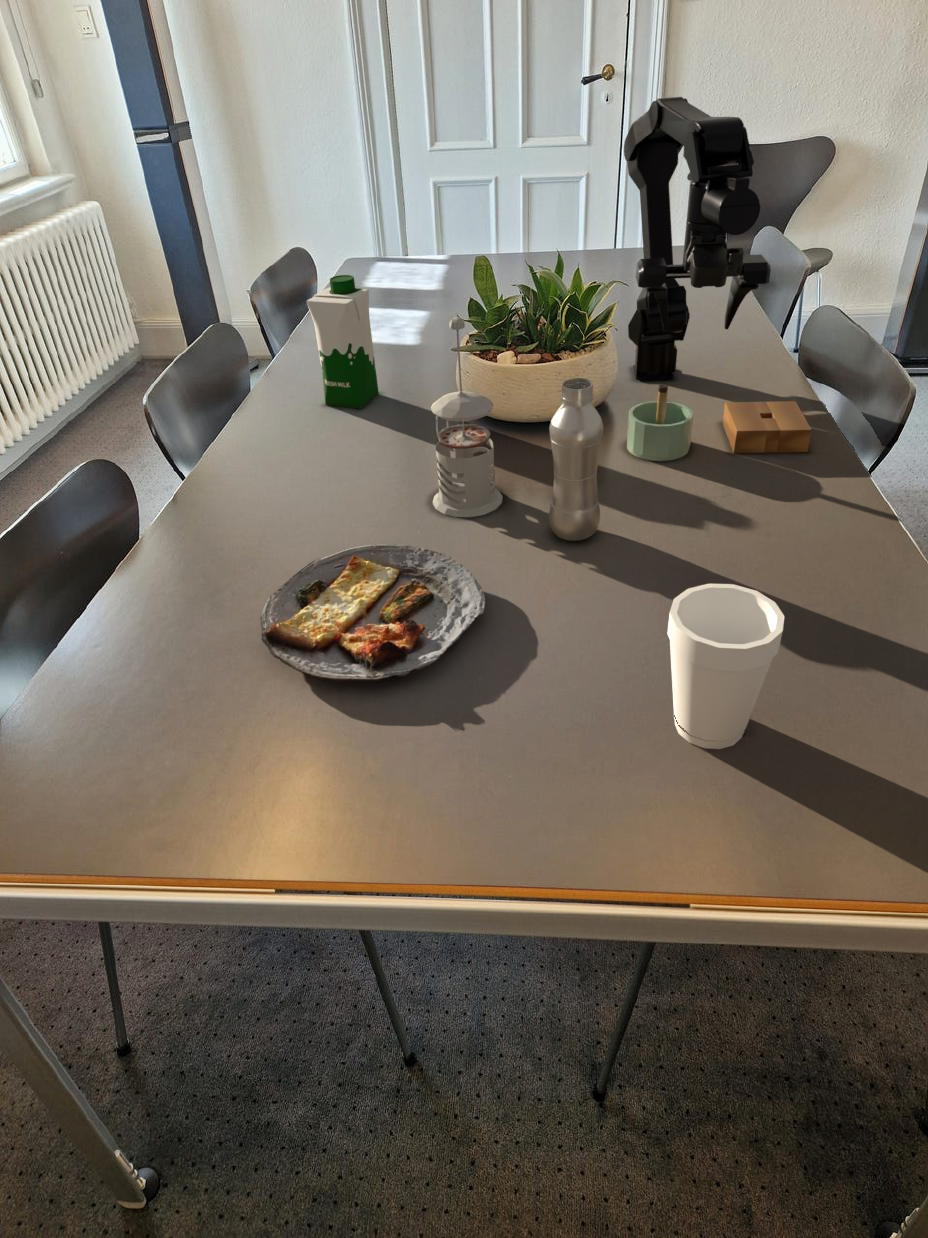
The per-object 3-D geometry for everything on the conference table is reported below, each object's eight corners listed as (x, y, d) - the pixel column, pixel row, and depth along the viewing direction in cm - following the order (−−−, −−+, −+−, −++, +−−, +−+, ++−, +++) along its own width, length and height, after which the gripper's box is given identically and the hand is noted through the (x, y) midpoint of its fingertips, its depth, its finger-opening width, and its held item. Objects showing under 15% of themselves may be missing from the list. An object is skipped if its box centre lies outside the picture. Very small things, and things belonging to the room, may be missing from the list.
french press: (452, 524, 113) (438, 336, 98) (415, 489, 121) (397, 311, 106) (515, 504, 116) (511, 319, 101) (476, 472, 125) (466, 297, 110)
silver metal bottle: (606, 525, 111) (613, 375, 99) (589, 551, 106) (595, 397, 94) (559, 517, 113) (560, 370, 101) (541, 542, 108) (540, 391, 96)
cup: (629, 461, 125) (631, 426, 121) (624, 434, 132) (627, 401, 129) (693, 460, 124) (697, 425, 120) (685, 433, 131) (688, 399, 128)
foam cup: (647, 696, 84) (658, 588, 76) (739, 687, 84) (759, 578, 76) (674, 766, 76) (689, 654, 68) (776, 756, 77) (802, 643, 69)
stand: (733, 453, 125) (736, 430, 123) (722, 423, 133) (725, 402, 131) (807, 452, 124) (812, 429, 122) (791, 422, 132) (795, 400, 130)
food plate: (391, 722, 83) (387, 695, 81) (220, 651, 93) (213, 626, 91) (516, 592, 99) (515, 567, 97) (359, 544, 110) (355, 521, 108)
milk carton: (385, 392, 152) (372, 275, 140) (362, 411, 145) (345, 291, 133) (342, 387, 155) (325, 272, 143) (317, 406, 148) (297, 288, 136)
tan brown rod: (654, 445, 127) (659, 387, 122) (653, 441, 128) (658, 384, 123) (663, 445, 127) (668, 387, 122) (662, 441, 128) (667, 384, 123)
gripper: (645, 235, 116) (638, 348, 125) (786, 230, 114) (768, 345, 123) (639, 217, 125) (632, 324, 134) (770, 212, 123) (754, 321, 132)
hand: (695, 329), depth 131 cm, fingers open, 9 cm apart
